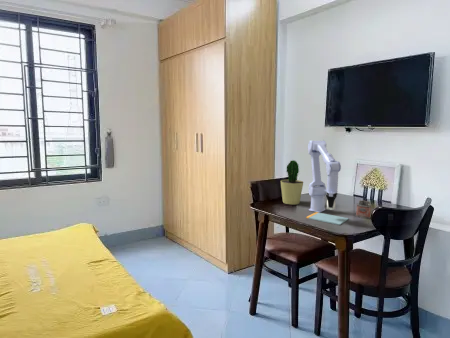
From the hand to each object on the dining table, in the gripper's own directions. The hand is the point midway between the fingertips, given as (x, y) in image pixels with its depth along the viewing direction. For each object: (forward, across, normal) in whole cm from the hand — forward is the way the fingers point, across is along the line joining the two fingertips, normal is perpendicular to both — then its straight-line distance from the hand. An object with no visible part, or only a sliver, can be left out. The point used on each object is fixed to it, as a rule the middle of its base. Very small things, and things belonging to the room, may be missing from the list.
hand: (331, 206), depth 185 cm
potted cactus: (+8, -31, -28) cm, 42 cm away
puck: (+1, 0, 0) cm, 1 cm away
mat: (+8, 0, -1) cm, 8 cm away
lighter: (+8, -12, +17) cm, 23 cm away
